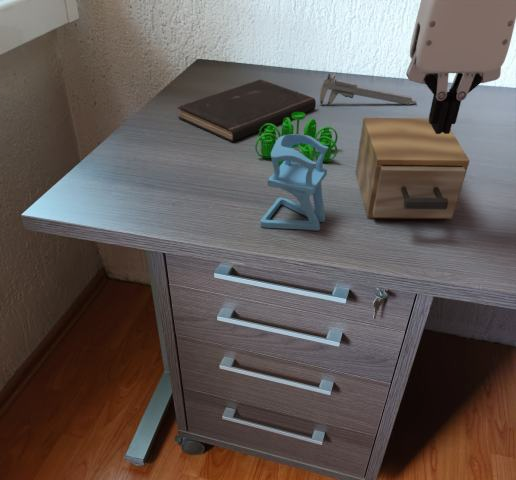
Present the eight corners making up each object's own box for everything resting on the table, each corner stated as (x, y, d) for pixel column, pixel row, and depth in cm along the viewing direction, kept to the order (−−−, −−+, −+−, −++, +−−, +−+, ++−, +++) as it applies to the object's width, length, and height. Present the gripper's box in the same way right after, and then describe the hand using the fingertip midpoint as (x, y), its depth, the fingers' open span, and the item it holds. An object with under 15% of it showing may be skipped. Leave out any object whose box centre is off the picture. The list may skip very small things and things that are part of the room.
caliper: (319, 106, 109) (322, 73, 105) (319, 104, 110) (321, 72, 106) (416, 105, 110) (423, 72, 106) (415, 103, 111) (421, 71, 106)
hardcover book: (178, 118, 104) (177, 106, 102) (260, 90, 116) (260, 79, 114) (233, 143, 96) (232, 130, 94) (315, 110, 108) (316, 98, 106)
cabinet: (452, 219, 78) (469, 160, 71) (367, 218, 78) (377, 159, 71) (430, 173, 88) (444, 118, 82) (355, 172, 88) (363, 117, 82)
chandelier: (351, 147, 95) (356, 108, 90) (316, 181, 86) (320, 140, 81) (278, 130, 100) (279, 92, 95) (238, 161, 91) (237, 120, 86)
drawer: (460, 236, 73) (475, 187, 68) (378, 235, 73) (387, 186, 68) (431, 174, 86) (442, 130, 81) (361, 173, 86) (368, 129, 81)
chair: (313, 239, 74) (321, 157, 65) (259, 226, 76) (260, 145, 67) (330, 213, 79) (339, 133, 70) (278, 202, 81) (281, 123, 73)
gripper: (542, -58, 56) (490, 117, 69) (401, -56, 56) (376, 118, 69) (571, -45, 50) (509, 142, 63) (415, -43, 51) (385, 142, 64)
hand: (439, 129), depth 66 cm, fingers closed
